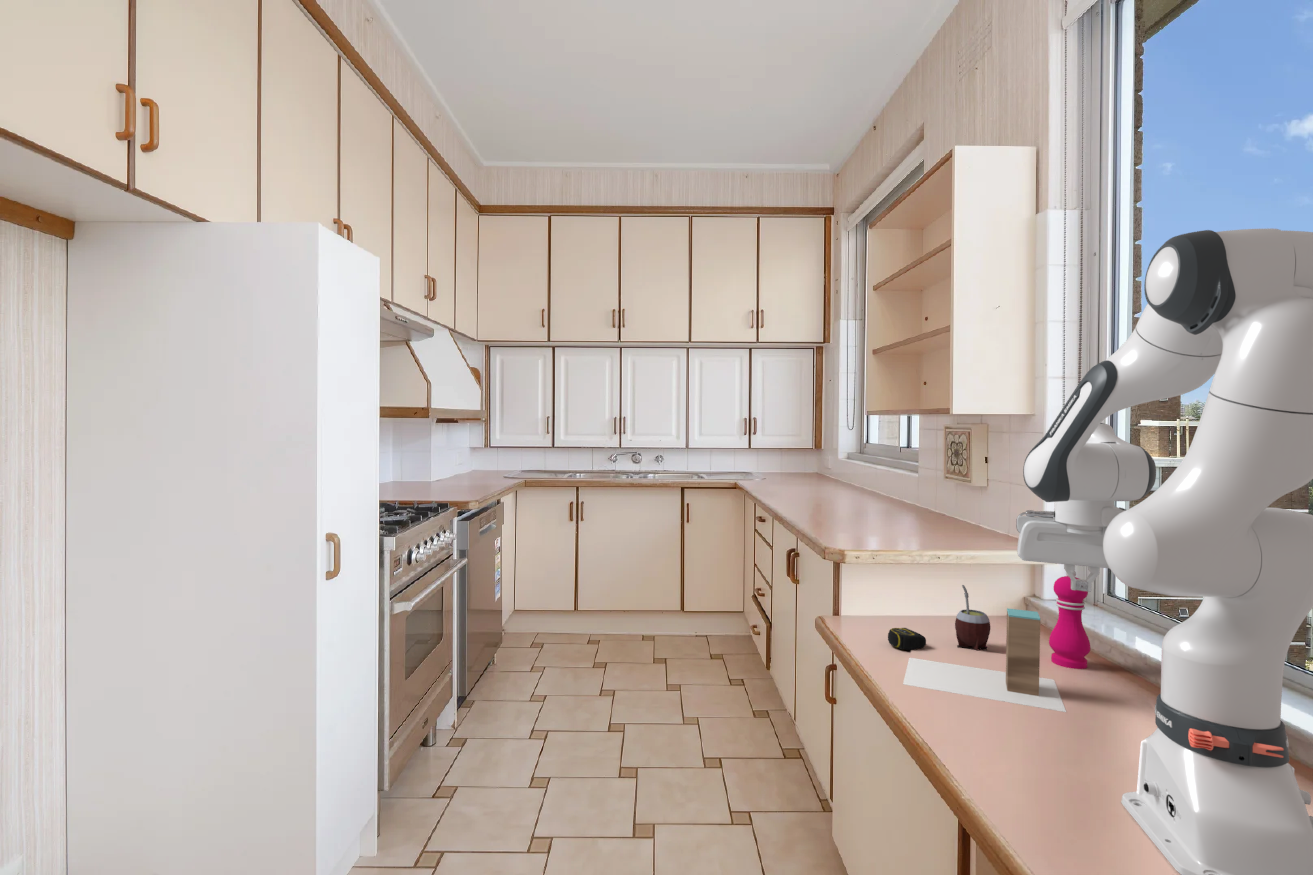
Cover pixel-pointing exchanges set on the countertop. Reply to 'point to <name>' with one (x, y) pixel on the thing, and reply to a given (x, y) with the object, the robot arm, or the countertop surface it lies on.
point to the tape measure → (906, 639)
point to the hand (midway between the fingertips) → (1080, 590)
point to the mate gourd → (972, 628)
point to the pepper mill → (1069, 627)
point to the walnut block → (1023, 651)
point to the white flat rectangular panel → (978, 683)
